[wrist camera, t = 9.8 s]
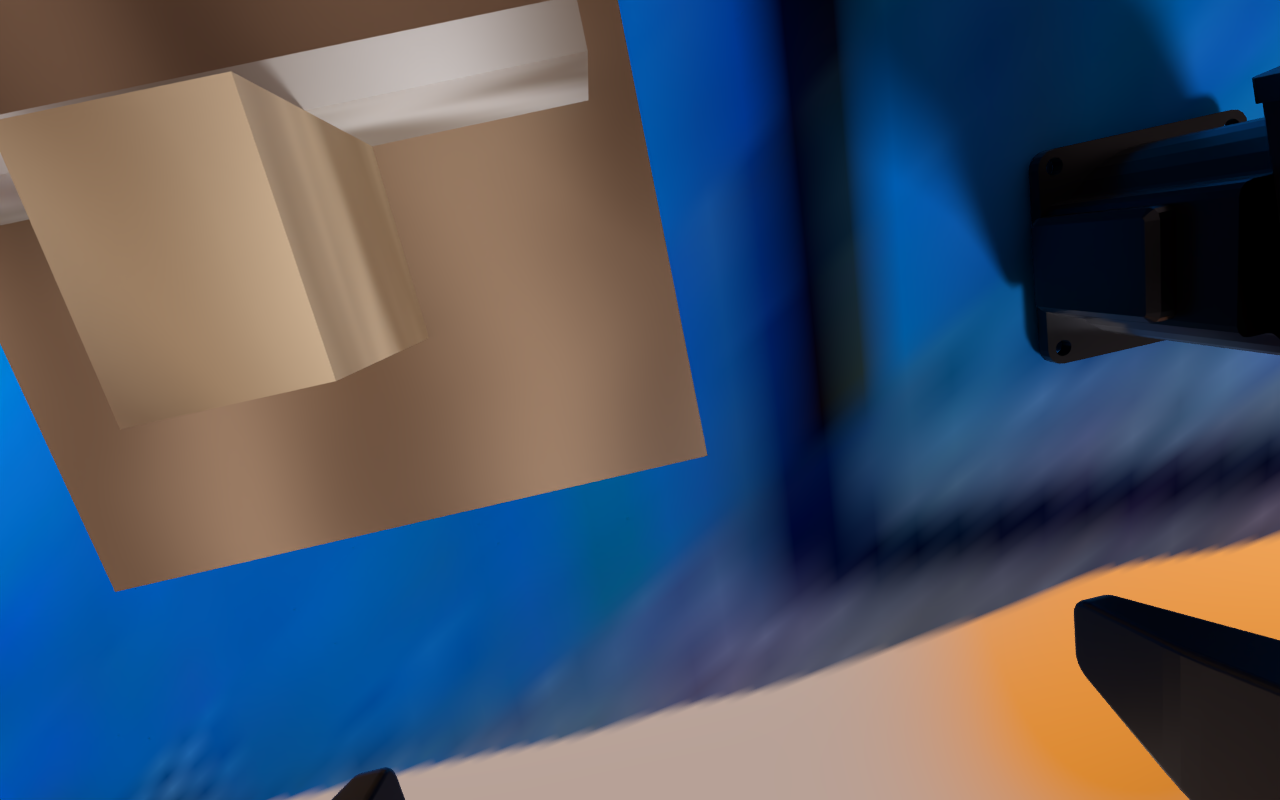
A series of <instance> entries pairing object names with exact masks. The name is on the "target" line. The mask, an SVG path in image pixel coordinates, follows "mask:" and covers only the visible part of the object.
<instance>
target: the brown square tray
mask: <svg viewBox="0 0 1280 800" xmlns="http://www.w3.org/2000/svg"><path fill="white" fill-rule="evenodd" d="M545 1H549V0H0V115H1V114H5V113H10V112H15V111H20V110H25V109H29V108H34V107H39V106H44V105H49V104H53V103H58V102H63V101H68V100H73V99H78V98H82V97H87V96H92V95H97V94H102V93H106V92H111V91H116V90H121V89H126V88H131V87H135V86H140V85H145V84H150V83H155V82H159V81H164V80H169V79H174V78H179V77H183V76H188V75H193V74H198V73H203V72H208V71H212V70H217V69H222V68H227V67H232V66H236V65H241V64H246V63H251V62H256V61H261V60H265V59H270V58H275V57H280V56H285V55H289V54H294V53H299V52H304V51H309V50H314V49H318V48H323V47H328V46H333V45H338V44H342V43H347V42H352V41H357V40H362V39H366V38H371V37H376V36H381V35H386V34H391V33H395V32H400V31H405V30H410V29H415V28H419V27H424V26H429V25H434V24H439V23H444V22H448V21H453V20H458V19H463V18H468V17H472V16H477V15H482V14H487V13H492V12H496V11H501V10H506V9H511V8H516V7H521V6H525V5H530V4H535V3H540V2H545ZM577 3H578V8H579V12H580V17H581V22H582V26H583V31H584V36H585V41H586V45H587V50H588V101H583V102H578V103H574V104H569V105H564V106H559V107H555V108H550V109H545V110H541V111H536V112H531V113H527V114H522V115H517V116H512V117H508V118H503V119H498V120H494V121H489V122H484V123H480V124H475V125H470V126H465V127H461V128H456V129H451V130H447V131H442V132H437V133H433V134H428V135H423V136H419V137H414V138H409V139H404V140H400V141H395V142H390V143H386V144H381V145H376V146H372V147H373V151H374V154H375V158H376V161H377V164H378V168H379V171H380V174H381V178H382V181H383V185H384V188H385V191H386V195H387V198H388V201H389V205H390V208H391V211H392V215H393V218H394V222H395V225H396V228H397V232H398V235H399V238H400V242H401V245H402V248H403V252H404V255H405V259H406V262H407V265H408V269H409V272H410V275H411V279H412V282H413V286H414V289H415V292H416V296H417V299H418V302H419V306H420V309H421V312H422V316H423V319H424V323H425V326H426V329H427V333H428V336H429V338H428V339H426V340H424V341H421V342H419V343H417V344H415V345H413V346H411V347H409V348H406V349H404V350H402V351H400V352H398V353H396V354H393V355H391V356H389V357H387V358H385V359H383V360H381V361H378V362H376V363H374V364H372V365H370V366H368V367H365V368H363V369H361V370H359V371H357V372H355V373H353V374H350V375H348V376H346V377H344V378H342V379H340V380H337V381H334V382H330V383H325V384H321V385H317V386H312V387H308V388H303V389H299V390H294V391H290V392H285V393H281V394H276V395H272V396H267V397H263V398H258V399H254V400H249V401H245V402H240V403H236V404H232V405H227V406H223V407H218V408H214V409H209V410H205V411H200V412H196V413H191V414H187V415H182V416H178V417H173V418H169V419H164V420H160V421H155V422H151V423H147V424H142V425H138V426H133V427H129V428H124V429H120V428H119V426H118V424H117V421H116V419H115V417H114V414H113V412H112V410H111V407H110V405H109V403H108V400H107V398H106V396H105V393H104V391H103V389H102V387H101V384H100V382H99V380H98V377H97V375H96V373H95V370H94V368H93V366H92V363H91V361H90V359H89V356H88V354H87V352H86V350H85V347H84V345H83V343H82V340H81V338H80V336H79V333H78V331H77V329H76V326H75V324H74V322H73V319H72V317H71V315H70V313H69V310H68V308H67V306H66V303H65V301H64V299H63V296H62V294H61V292H60V289H59V287H58V285H57V282H56V280H55V278H54V275H53V273H52V271H51V269H50V266H49V264H48V262H47V259H46V257H45V255H44V252H43V250H42V248H41V245H40V243H39V241H38V238H37V236H36V234H35V232H34V229H33V227H32V225H31V222H30V220H29V219H28V220H24V221H19V222H14V223H10V224H5V225H0V344H1V346H2V348H3V350H4V353H5V355H6V357H7V359H8V361H9V363H10V365H11V368H12V370H13V372H14V374H15V376H16V378H17V381H18V383H19V385H20V387H21V389H22V391H23V394H24V396H25V398H26V400H27V402H28V404H29V407H30V409H31V411H32V413H33V415H34V417H35V420H36V422H37V424H38V426H39V428H40V430H41V432H42V435H43V437H44V439H45V441H46V443H47V445H48V448H49V450H50V452H51V454H52V456H53V458H54V461H55V463H56V465H57V467H58V469H59V471H60V474H61V476H62V478H63V480H64V482H65V484H66V486H67V489H68V491H69V493H70V495H71V497H72V499H73V502H74V504H75V506H76V508H77V510H78V512H79V515H80V517H81V519H82V521H83V523H84V525H85V528H86V530H87V532H88V534H89V536H90V538H91V540H92V543H93V545H94V547H95V549H96V551H97V553H98V556H99V558H100V560H101V562H102V564H103V566H104V569H105V571H106V573H107V575H108V577H109V579H110V582H111V584H112V586H113V588H114V590H115V592H116V591H121V590H125V589H129V588H134V587H138V586H142V585H147V584H151V583H155V582H160V581H164V580H168V579H173V578H177V577H182V576H186V575H190V574H195V573H199V572H203V571H208V570H212V569H216V568H221V567H225V566H229V565H234V564H238V563H242V562H247V561H251V560H255V559H260V558H264V557H269V556H273V555H277V554H282V553H286V552H290V551H295V550H299V549H303V548H308V547H312V546H316V545H321V544H325V543H329V542H334V541H338V540H342V539H347V538H351V537H356V536H360V535H364V534H369V533H373V532H377V531H382V530H386V529H390V528H395V527H399V526H403V525H408V524H412V523H416V522H421V521H425V520H429V519H434V518H438V517H442V516H447V515H451V514H456V513H460V512H464V511H469V510H473V509H477V508H482V507H486V506H490V505H495V504H499V503H503V502H508V501H512V500H516V499H521V498H525V497H529V496H534V495H538V494H543V493H547V492H551V491H556V490H560V489H564V488H569V487H573V486H577V485H582V484H586V483H590V482H595V481H599V480H603V479H608V478H612V477H616V476H621V475H625V474H630V473H634V472H638V471H643V470H647V469H651V468H656V467H660V466H664V465H669V464H673V463H677V462H682V461H686V460H690V459H695V458H699V457H703V456H707V451H706V446H705V441H704V436H703V431H702V426H701V421H700V416H699V411H698V406H697V401H696V396H695V390H694V385H693V380H692V375H691V370H690V365H689V360H688V355H687V350H686V345H685V340H684V335H683V330H682V324H681V319H680V314H679V309H678V304H677V299H676V294H675V289H674V284H673V279H672V274H671V269H670V264H669V258H668V253H667V248H666V243H665V238H664V233H663V228H662V223H661V218H660V213H659V208H658V203H657V198H656V192H655V187H654V182H653V177H652V172H651V167H650V162H649V157H648V152H647V147H646V142H645V137H644V132H643V126H642V121H641V116H640V111H639V106H638V101H637V96H636V91H635V86H634V81H633V76H632V71H631V66H630V60H629V55H628V50H627V45H626V40H625V35H624V30H623V25H622V20H621V15H620V10H619V5H618V0H577Z"/></svg>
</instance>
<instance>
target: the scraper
mask: <svg viewBox="0 0 1280 800" xmlns="http://www.w3.org/2000/svg"><path fill="white" fill-rule="evenodd" d="M583 101H588V50H587V45H586V41H585V36H584V31H583V26H582V22H581V17H580V12H579V8H578V3H577V0H549V1H545V2H540V3H535V4H530V5H525V6H521V7H516V8H511V9H506V10H501V11H496V12H492V13H487V14H482V15H477V16H472V17H468V18H463V19H458V20H453V21H448V22H444V23H439V24H434V25H429V26H424V27H419V28H415V29H410V30H405V31H400V32H395V33H391V34H386V35H381V36H376V37H371V38H366V39H362V40H357V41H352V42H347V43H342V44H338V45H333V46H328V47H323V48H318V49H314V50H309V51H304V52H299V53H294V54H289V55H285V56H280V57H275V58H270V59H265V60H261V61H256V62H251V63H246V64H241V65H236V66H232V67H227V68H222V69H217V70H212V71H208V72H203V73H198V74H193V75H188V76H183V77H179V78H174V79H169V80H164V81H159V82H155V83H150V84H145V85H140V86H135V87H131V88H126V89H121V90H116V91H111V92H106V93H102V94H97V95H92V96H87V97H82V98H78V99H73V100H68V101H63V102H58V103H53V104H49V105H44V106H39V107H34V108H29V109H25V110H20V111H15V112H10V113H5V114H1V115H0V225H5V224H10V223H14V222H19V221H24V220H28V219H29V220H30V222H31V225H32V227H33V229H34V232H35V234H36V236H37V238H38V241H39V243H40V245H41V248H42V250H43V252H44V255H45V257H46V259H47V262H48V264H49V266H50V269H51V271H52V273H53V275H54V278H55V280H56V282H57V285H58V287H59V289H60V292H61V294H62V296H63V299H64V301H65V303H66V306H67V308H68V310H69V313H70V315H71V317H72V319H73V322H74V324H75V326H76V329H77V331H78V333H79V336H80V338H81V340H82V343H83V345H84V347H85V350H86V352H87V354H88V356H89V359H90V361H91V363H92V366H93V368H94V370H95V373H96V375H97V377H98V380H99V382H100V384H101V387H102V389H103V391H104V393H105V396H106V398H107V400H108V403H109V405H110V407H111V410H112V412H113V414H114V417H115V419H116V421H117V424H118V426H119V428H120V429H124V428H129V427H133V426H138V425H142V424H147V423H151V422H155V421H160V420H164V419H169V418H173V417H178V416H182V415H187V414H191V413H196V412H200V411H205V410H209V409H214V408H218V407H223V406H227V405H232V404H236V403H240V402H245V401H249V400H254V399H258V398H263V397H267V396H272V395H276V394H281V393H285V392H290V391H294V390H299V389H303V388H308V387H312V386H317V385H321V384H325V383H330V382H334V381H337V380H340V379H342V378H344V377H346V376H348V375H350V374H353V373H355V372H357V371H359V370H361V369H363V368H365V367H368V366H370V365H372V364H374V363H376V362H378V361H381V360H383V359H385V358H387V357H389V356H391V355H393V354H396V353H398V352H400V351H402V350H404V349H406V348H409V347H411V346H413V345H415V344H417V343H419V342H421V341H424V340H426V339H428V338H429V336H428V333H427V329H426V326H425V323H424V319H423V316H422V312H421V309H420V306H419V302H418V299H417V296H416V292H415V289H414V286H413V282H412V279H411V275H410V272H409V269H408V265H407V262H406V259H405V255H404V252H403V248H402V245H401V242H400V238H399V235H398V232H397V228H396V225H395V222H394V218H393V215H392V211H391V208H390V205H389V201H388V198H387V195H386V191H385V188H384V185H383V181H382V178H381V174H380V171H379V168H378V164H377V161H376V158H375V154H374V151H373V147H372V146H376V145H381V144H386V143H390V142H395V141H400V140H404V139H409V138H414V137H419V136H423V135H428V134H433V133H437V132H442V131H447V130H451V129H456V128H461V127H465V126H470V125H475V124H480V123H484V122H489V121H494V120H498V119H503V118H508V117H512V116H517V115H522V114H527V113H531V112H536V111H541V110H545V109H550V108H555V107H559V106H564V105H569V104H574V103H578V102H583Z"/></svg>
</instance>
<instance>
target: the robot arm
mask: <svg viewBox="0 0 1280 800" xmlns="http://www.w3.org/2000/svg"><path fill="white" fill-rule="evenodd" d="M1252 81H1253V88H1254V95H1255V102H1256V104H1259V103H1263V109H1264V116H1265V117H1264V118H1260V119H1255V120H1250V121H1247V118H1246V116H1245V115H1244V113H1243V112H1241V111H1239V110H1229V111H1225V112H1220V113H1215V114H1211V115H1206V116H1202V117H1197V118H1193V119H1188V120H1183V121H1179V122H1174V123H1170V124H1165V125H1161V126H1156V127H1151V128H1147V129H1142V130H1138V131H1133V132H1129V133H1124V134H1119V135H1115V136H1110V137H1106V138H1101V139H1097V140H1092V141H1087V142H1083V143H1078V144H1074V145H1069V146H1065V147H1060V148H1055V149H1051V150H1047V151H1043V152H1041V153H1039V154H1037V155H1036V156H1035V157H1034V158H1033V159H1032V161H1031V164H1030V166H1029V184H1030V200H1031V217H1032V228H1031V236H1032V253H1033V269H1034V286H1035V303H1036V306H1037V318H1038V335H1039V350H1040V354H1041V356H1042V357H1043V358H1044V359H1045V360H1047V361H1050V362H1054V363H1068V362H1072V361H1076V360H1081V359H1085V358H1090V357H1094V356H1098V355H1103V354H1107V353H1111V352H1116V351H1120V350H1124V349H1129V348H1133V347H1137V346H1142V345H1146V344H1151V343H1155V342H1159V341H1164V340H1170V341H1177V342H1185V343H1192V344H1200V345H1207V346H1214V347H1222V348H1229V349H1237V350H1244V351H1252V352H1259V353H1267V354H1274V355H1280V66H1279V67H1276V68H1274V69H1272V70H1269V71H1267V72H1265V73H1262V74H1260V75H1257V76H1255V77H1253V78H1252ZM1224 125H1225V126H1224ZM1049 161H1050V162H1052V165H1053V169H1052V172H1051V174H1048V173H1047V170H1046V166H1047V163H1048V162H1049ZM1060 341H1061V343H1062V347H1061V350H1060V351H1059V352H1058V353H1057V352H1056V346H1057V344H1058V343H1059V342H1060ZM1074 624H1075V646H1076V657H1077V661H1078V664H1079V666H1080V668H1081V670H1082V671H1083V673H1084V675H1085V676H1086V677H1087V679H1088V680H1089V681H1090V682H1091V683H1092V685H1093V686H1094V687H1095V688H1096V690H1097V691H1098V692H1099V693H1100V694H1101V696H1102V697H1103V698H1104V699H1105V700H1106V702H1107V703H1108V704H1109V705H1110V706H1111V708H1112V709H1113V710H1114V711H1115V712H1116V714H1117V715H1118V716H1119V717H1120V718H1121V720H1122V721H1123V722H1124V723H1125V724H1126V726H1127V727H1128V728H1129V729H1130V731H1131V732H1132V733H1133V734H1134V735H1135V736H1136V738H1137V739H1138V740H1139V741H1140V743H1141V744H1142V745H1143V746H1144V747H1145V749H1146V750H1147V751H1148V752H1149V753H1150V755H1151V756H1152V757H1153V758H1154V759H1155V761H1156V762H1157V763H1158V764H1159V765H1160V767H1161V768H1162V769H1163V770H1164V771H1165V773H1166V774H1167V775H1168V776H1169V777H1170V778H1171V779H1172V781H1173V782H1174V783H1175V784H1176V785H1177V786H1178V787H1179V789H1180V790H1181V791H1182V792H1183V793H1184V794H1185V795H1186V796H1187V797H1188V798H1189V799H1190V800H1280V640H1276V639H1273V638H1269V637H1265V636H1261V635H1258V634H1254V633H1250V632H1247V631H1243V630H1239V629H1236V628H1232V627H1228V626H1224V625H1221V624H1217V623H1213V622H1209V621H1206V620H1202V619H1199V618H1195V617H1191V616H1187V615H1184V614H1180V613H1176V612H1173V611H1169V610H1165V609H1161V608H1158V607H1154V606H1151V605H1147V604H1143V603H1139V602H1136V601H1132V600H1128V599H1124V598H1120V597H1117V596H1113V595H1103V596H1098V597H1094V598H1090V599H1086V600H1082V601H1080V602H1079V603H1077V604H1076V606H1075V608H1074ZM332 800H405V798H404V795H403V793H402V790H401V787H400V785H399V782H398V779H397V776H396V775H395V773H394V771H393V770H392V769H390V768H387V767H386V768H380V769H376V770H372V771H368V772H364V773H361V774H358V775H356V776H355V777H354V778H353V779H352V780H351V781H350V782H349V783H348V784H347V785H346V786H345V787H344V788H343V789H342V790H341V791H340V792H339V793H338V794H337V795H336V796H335V797H334V798H333V799H332Z"/></svg>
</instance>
